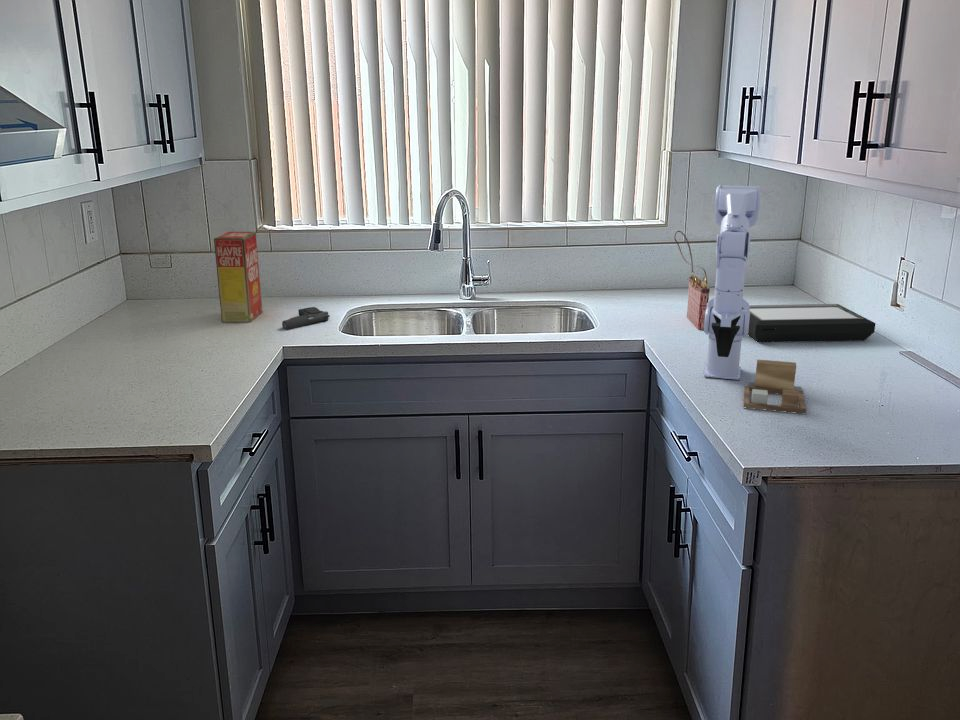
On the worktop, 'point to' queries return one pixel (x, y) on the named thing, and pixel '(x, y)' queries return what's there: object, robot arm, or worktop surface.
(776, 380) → the oak board
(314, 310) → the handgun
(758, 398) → the offcut grey
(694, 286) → the handbag
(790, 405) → the offcut dark
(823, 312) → the electronic device
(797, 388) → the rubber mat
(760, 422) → the worktop surface
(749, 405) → the frame
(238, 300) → the food packaging
